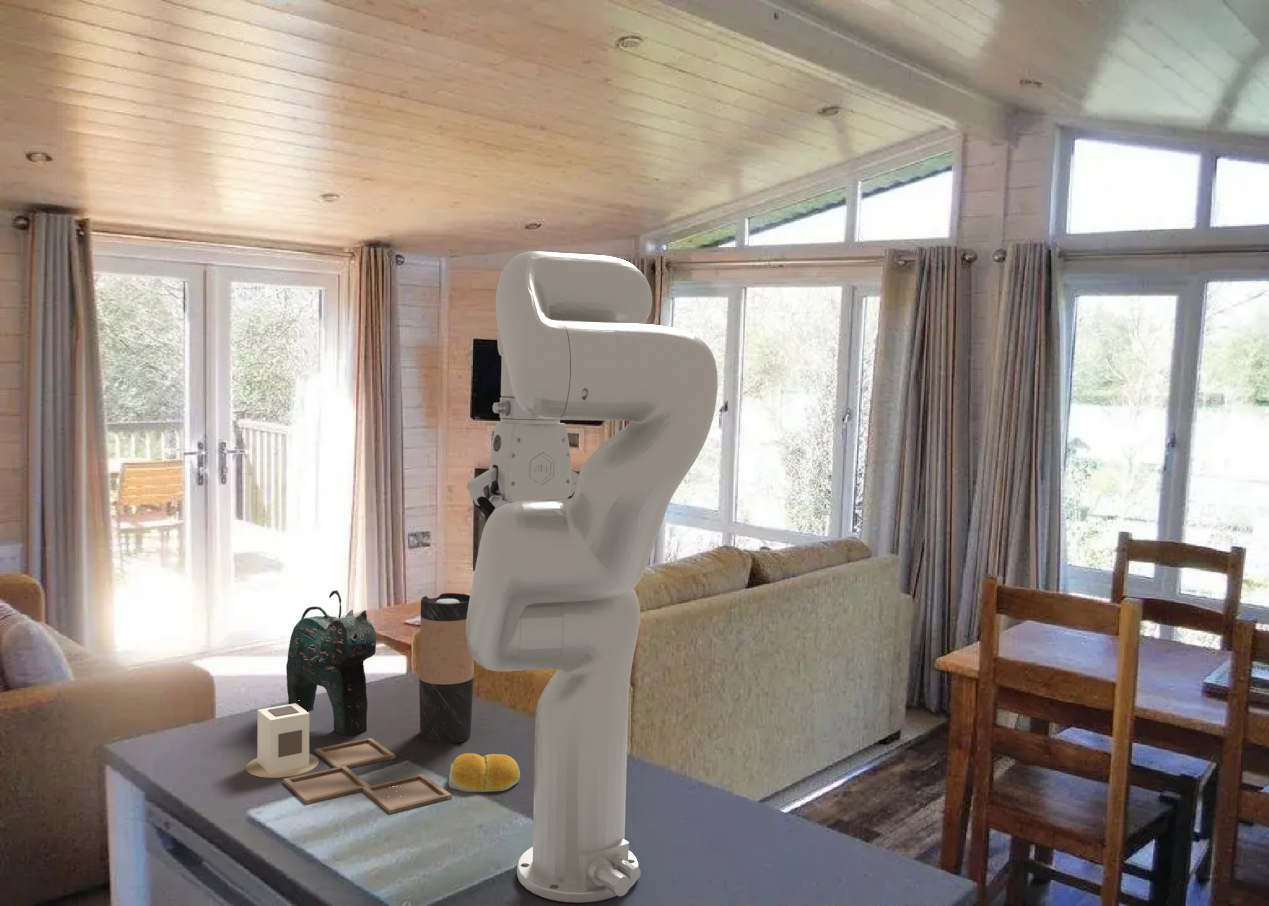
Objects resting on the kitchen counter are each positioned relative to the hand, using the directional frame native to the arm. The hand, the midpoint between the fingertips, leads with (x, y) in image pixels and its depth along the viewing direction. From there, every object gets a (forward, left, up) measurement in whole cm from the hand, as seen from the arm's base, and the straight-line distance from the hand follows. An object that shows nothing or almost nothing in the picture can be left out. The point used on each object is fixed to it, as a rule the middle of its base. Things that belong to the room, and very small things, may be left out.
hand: (527, 545), depth 131 cm
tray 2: (+10, +22, -30) cm, 39 cm away
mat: (+20, +24, -30) cm, 44 cm away
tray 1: (+18, +15, -30) cm, 38 cm away
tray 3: (+2, +15, -30) cm, 34 cm away
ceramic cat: (+34, +13, -30) cm, 47 cm away
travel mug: (+19, +1, -30) cm, 36 cm away
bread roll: (+1, +6, -31) cm, 31 cm away
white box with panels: (+20, +24, -30) cm, 43 cm away
